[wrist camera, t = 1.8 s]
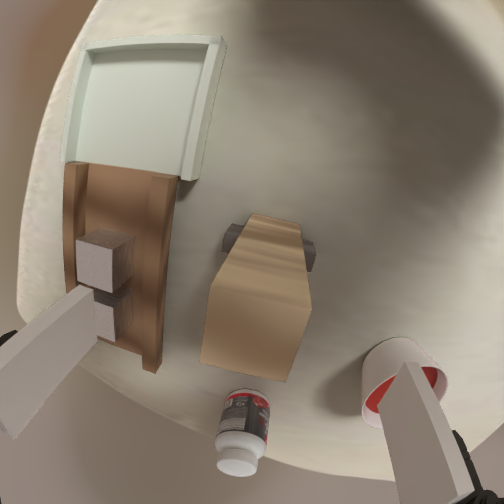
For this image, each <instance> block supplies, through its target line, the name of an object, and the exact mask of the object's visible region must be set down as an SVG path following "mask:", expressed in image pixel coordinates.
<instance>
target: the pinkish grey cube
mask: <svg viewBox="0 0 504 504" xmlns="http://www.w3.org/2000/svg"><path fill="white" fill-rule="evenodd" d="M88 288H90V289H93V294H94V309H95V321H96V331H97V335H98V336H100V337H103V338H105V339H108V340H110V341H113V342H116V341H117V340H118V339H119V337H120V336H121V335H122V334H123V333H124V331H125V330H126V329H127V328H128V327H129V326H130V324H131V323H132V322H133V289H132V288H129V287H126V286H123V285H121V286H120V287H119V288H118V289H117V290H116V291H115V292H113V293H110V292H107V291H104V290H101V289H98V288H96V287H93V286H90V287H88Z"/></svg>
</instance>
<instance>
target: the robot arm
mask: <svg viewBox="0 0 504 504" xmlns="http://www.w3.org/2000/svg"><path fill="white" fill-rule="evenodd" d="M97 342H98V339H97V331H96V321H95V309H94V294H93V289H90V288H87V287H84V286H82V285H78V286H77V287H76V288H74V289H73V290H72V291H70V292H69V293H67V294H66V295H65V296H63V297H62V298H61V299H59V300H58V301H57V302H55V303H54V304H53V305H51V306H50V307H49V308H48V309H46V310H45V311H44V312H42V313H41V314H40V315H39V316H37V317H36V318H35V319H33V320H32V321H31V322H30V323H28V324H27V325H26V326H25V327H23V328H22V329H21V330H20V331H19V332H18V331H16V330H14V331H11V332H9V333H6V334H4V335H3V336H1V337H0V429H1V430H2V431H4V432H5V433H6V434H7V435H8V436H10V437H11V438H12V439H14V440H15V439H16V438H17V436H18V435H19V434H20V433H21V431H22V430H23V429H24V427H25V426H26V425H27V424H28V422H29V421H30V420H31V418H32V417H33V416H34V415H35V414H36V412H37V411H38V410H39V409H40V408H41V406H42V405H43V404H44V403H45V401H46V400H47V399H48V398H49V397H50V395H51V394H52V393H53V392H54V391H55V389H56V388H57V387H58V386H59V385H60V384H61V382H62V381H63V380H64V379H65V378H66V376H67V375H68V374H69V373H70V372H71V371H72V370H73V369H74V367H75V366H76V365H77V364H78V363H79V362H80V361H81V359H82V358H83V357H84V356H85V355H86V354H87V353H88V352H89V350H90V349H91V348H92V347H93V346H94V345H95V344H96V343H97ZM377 407H378V411H379V414H380V418H381V422H382V426H383V429H384V433H385V437H386V441H387V445H388V449H389V454H390V458H391V462H392V466H393V471H394V475H395V480H396V485H397V490H398V494H399V500H400V504H504V498H498V497H497V495H496V494H495V493H494V492H493V491H490V490H483V488H482V486H481V483H480V481H479V478H478V475H477V473H476V470H475V467H474V465H473V462H472V460H470V455H469V452H468V451H467V448H466V445H465V443H464V441H463V439H462V438H461V436H460V435H459V434H458V433H457V432H456V431H455V430H451V428H450V426H449V424H448V421H447V419H446V417H445V415H444V413H443V410H442V408H441V406H440V404H439V402H438V400H437V398H436V396H435V394H434V392H433V389H432V387H431V385H430V383H429V381H428V379H427V378H426V376H425V374H424V372H423V370H422V368H421V366H420V364H419V363H417V362H407V361H405V362H404V363H403V365H402V367H401V369H400V370H399V372H398V374H397V375H396V377H395V379H394V380H393V382H392V383H391V385H390V387H389V388H388V390H387V391H386V393H385V394H384V396H383V398H382V399H381V401H380V402H379V404H378V405H377ZM0 504H1V499H0Z"/></svg>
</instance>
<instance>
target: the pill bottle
mask: <svg viewBox="0 0 504 504" xmlns="http://www.w3.org/2000/svg"><path fill="white" fill-rule="evenodd" d="M269 416H270V402H269V400H268V399H267V397H265V396H264V395H263V394H261V393H259V392H257V391H254V390H249V389H241V390H237V391H234V392H232V393H231V394H229V395H228V397H227V399H226V402H225V405H224V409H223V412H222V416H221V420H220V424H219V427H218V431H217V435H216V438H215V447H216V450H217V451H218V452H219V455H218V459H217V467H218V469H219V470H220V471H222V472H224V473H226V474H229V475H233V476H240V477H241V476H242V477H243V476H250V475H253V474H254V473H255V472H256V470H257V465H258V460H257V459H259V458H260V457H262V456H263V455H264V453H265V451H266V445H267V434H268V425H269Z"/></svg>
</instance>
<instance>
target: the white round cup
mask: <svg viewBox="0 0 504 504" xmlns="http://www.w3.org/2000/svg"><path fill="white" fill-rule="evenodd" d="M405 361H407V362H417V363H419V364H420V366H421V368H422V370H423V372H424V374H425V376H426V378H427V379H428V381H429V383H430V385H431V387H432V389H433V392H434V394H435V396H436V398H437V400H438V402H439V403H440V402H441V400H442V399H443V397H444V395H445V393H446V391H447V388H448V377H447V375H446V373H445V372H444V370H443V369H442V368H441V367H440V366H439V365H438V364H437V363H436V362H435V361H434V360H433V359H432V358H431V357H430V356H429V355H428V354H427V353H426V352H425V351H424V350H423V349H422V348H421V347H420V346H419V345H418V344H417V343H416V342H415V341H413V340H411V339H409V338H405V337H397V338H392V339H388V340H386V341H384V342H382V343H380V344H378V345H377V346H376V347H374V348H373V349H372V350H371V351H370V352H369V354H368V355H367V356H366V358H365V360H364V362H363V366H362V409H361V412H362V418H363V420H364V421H365V422H366V423H367V424H368V425H369V426H371V427H374V428H377V429H383V426H382V422H381V418H380V414H379V411H378V407H377V405H378V404H379V402H380V401H381V399H382V398H383V396H384V394H385V393H386V391H387V390H388V388H389V387H390V385H391V383H392V382H393V380H394V379H395V377H396V375H397V374H398V372H399V370H400V369H401V367H402V365H403V363H404V362H405Z"/></svg>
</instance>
